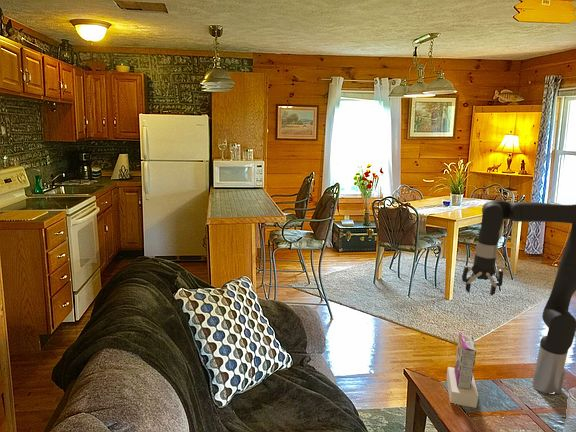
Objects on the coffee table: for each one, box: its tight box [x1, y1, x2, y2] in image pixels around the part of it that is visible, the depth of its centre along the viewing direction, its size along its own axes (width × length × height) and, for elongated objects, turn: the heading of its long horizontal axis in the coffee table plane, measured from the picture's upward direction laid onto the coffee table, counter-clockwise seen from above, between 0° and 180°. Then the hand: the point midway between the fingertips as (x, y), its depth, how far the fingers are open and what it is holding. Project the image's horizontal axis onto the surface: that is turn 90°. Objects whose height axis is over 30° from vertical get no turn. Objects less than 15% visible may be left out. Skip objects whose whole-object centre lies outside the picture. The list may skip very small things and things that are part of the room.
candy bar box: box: [454, 333, 477, 389], centre depth 174 cm, size 11×5×16 cm, turn 167°
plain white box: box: [445, 366, 479, 409], centre depth 177 cm, size 9×16×5 cm, turn 167°
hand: (479, 293), depth 182 cm, fingers open, 8 cm apart
